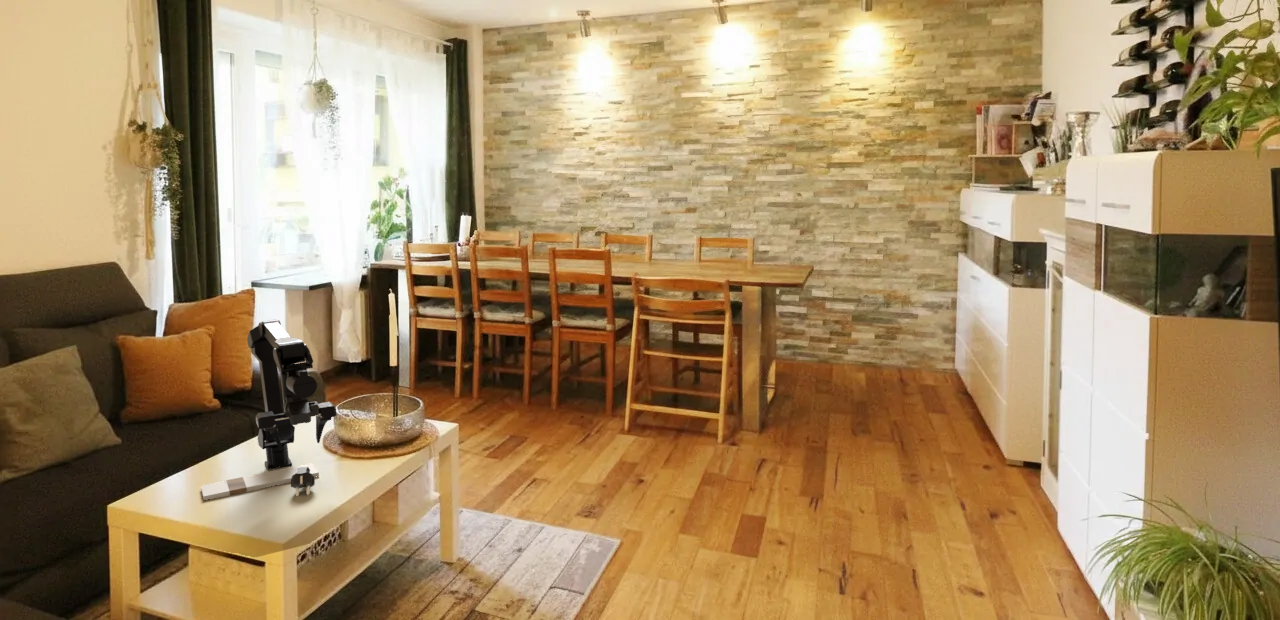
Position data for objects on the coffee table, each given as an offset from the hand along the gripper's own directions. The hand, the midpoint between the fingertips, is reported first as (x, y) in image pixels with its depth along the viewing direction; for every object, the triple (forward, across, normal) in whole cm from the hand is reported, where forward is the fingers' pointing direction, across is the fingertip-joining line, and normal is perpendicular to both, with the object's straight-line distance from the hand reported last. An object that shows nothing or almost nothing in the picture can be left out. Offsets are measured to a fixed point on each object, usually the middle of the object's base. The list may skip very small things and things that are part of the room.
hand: (299, 446), depth 202 cm
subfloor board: (+12, -9, +12) cm, 19 cm away
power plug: (+13, +1, +1) cm, 13 cm away
